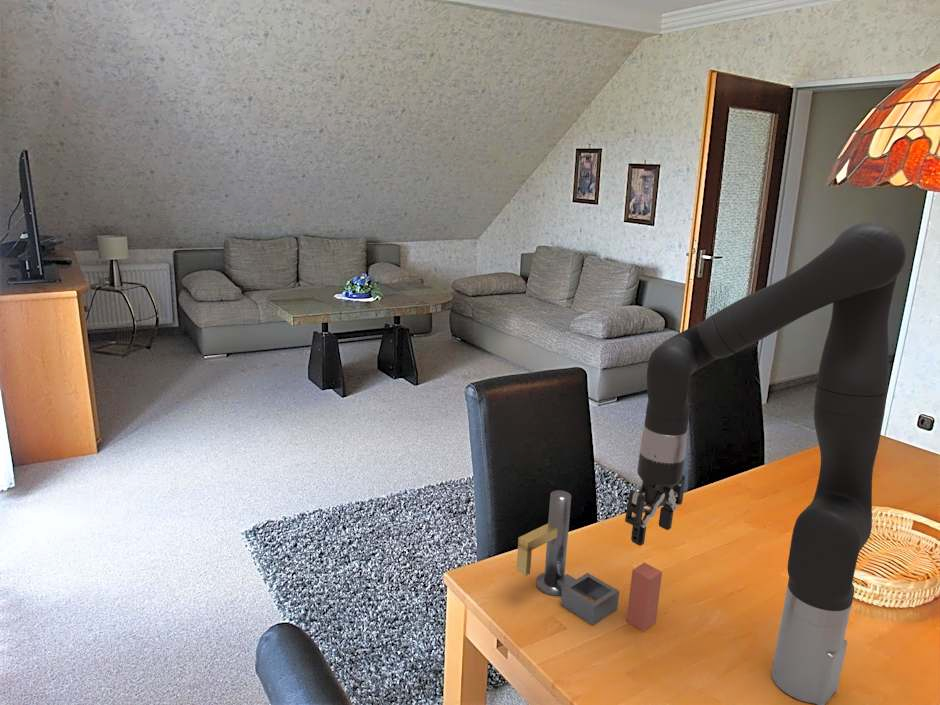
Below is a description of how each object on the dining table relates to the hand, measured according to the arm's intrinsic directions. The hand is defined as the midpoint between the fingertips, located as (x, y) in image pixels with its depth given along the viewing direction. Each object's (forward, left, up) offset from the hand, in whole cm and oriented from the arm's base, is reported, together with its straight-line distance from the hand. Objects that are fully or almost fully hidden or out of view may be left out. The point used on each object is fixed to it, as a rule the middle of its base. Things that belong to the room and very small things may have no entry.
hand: (651, 535), depth 121 cm
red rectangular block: (0, 0, -18) cm, 18 cm away
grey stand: (+13, +7, -18) cm, 24 cm away
